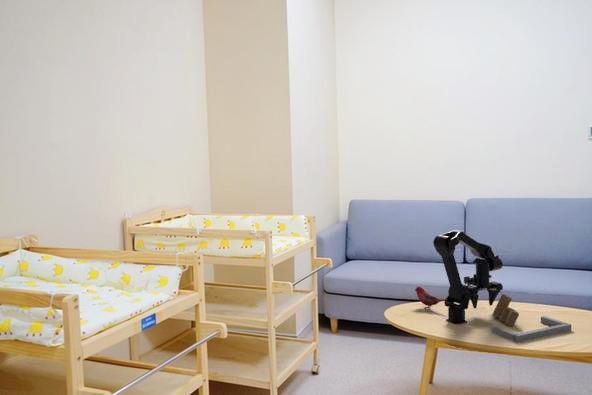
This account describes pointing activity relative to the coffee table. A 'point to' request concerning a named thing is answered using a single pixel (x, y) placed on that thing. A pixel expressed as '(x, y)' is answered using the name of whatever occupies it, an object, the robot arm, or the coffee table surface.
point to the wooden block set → (505, 311)
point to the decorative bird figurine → (427, 297)
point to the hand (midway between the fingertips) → (482, 306)
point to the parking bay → (554, 329)
